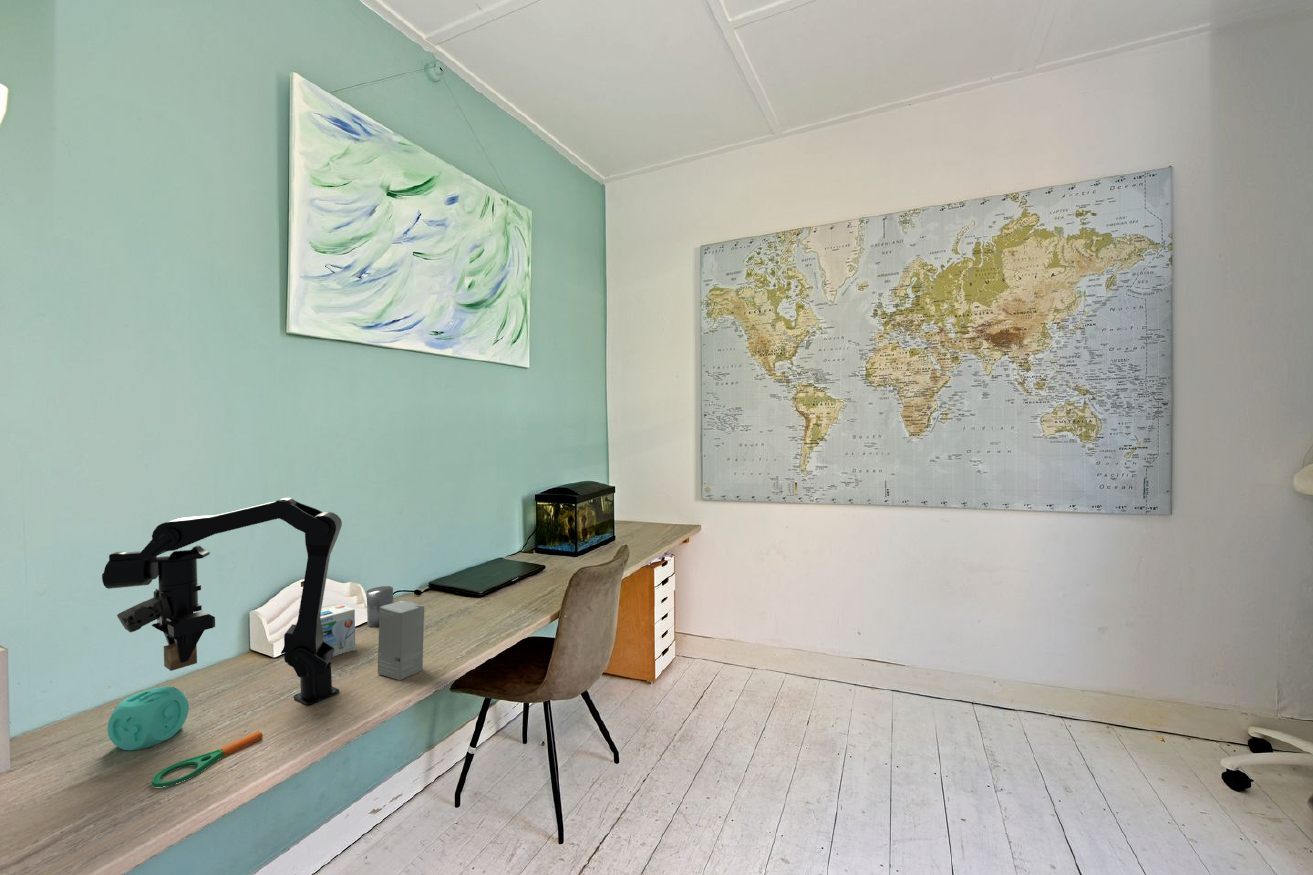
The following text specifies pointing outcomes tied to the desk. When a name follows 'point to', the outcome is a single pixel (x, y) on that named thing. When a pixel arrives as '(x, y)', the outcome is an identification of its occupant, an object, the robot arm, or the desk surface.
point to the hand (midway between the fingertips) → (180, 659)
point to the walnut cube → (177, 658)
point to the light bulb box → (339, 628)
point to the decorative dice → (148, 718)
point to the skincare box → (400, 639)
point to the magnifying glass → (204, 760)
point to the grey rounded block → (377, 603)
